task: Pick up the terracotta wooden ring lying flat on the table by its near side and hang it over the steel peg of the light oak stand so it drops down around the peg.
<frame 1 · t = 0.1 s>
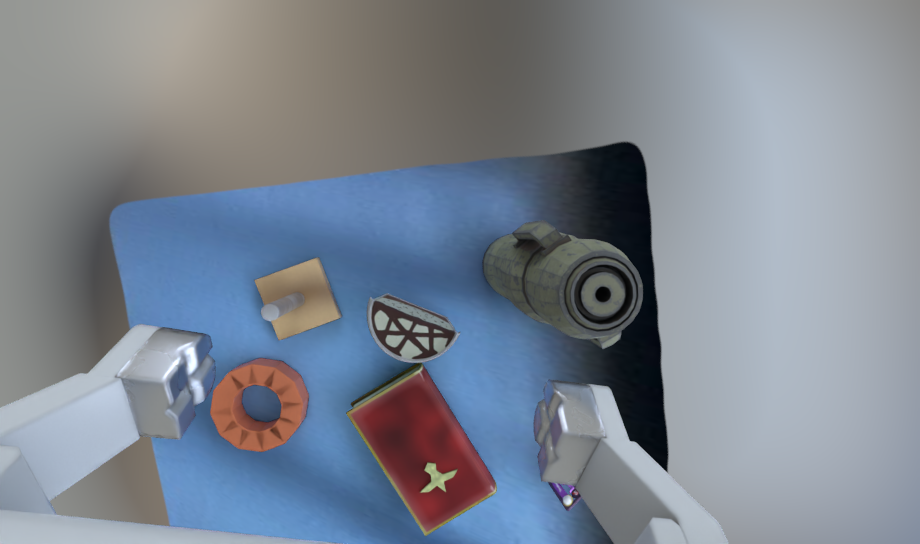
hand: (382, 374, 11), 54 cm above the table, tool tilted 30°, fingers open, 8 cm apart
grey-green tall cylinder: (511, 264, 66), on the table
stand: (300, 297, 64), on the table
ring: (265, 400, 65), on the table
purple rectangular box: (574, 464, 69), on the table
hardcover book: (423, 440, 67), on the table
food container: (409, 324, 66), on the table
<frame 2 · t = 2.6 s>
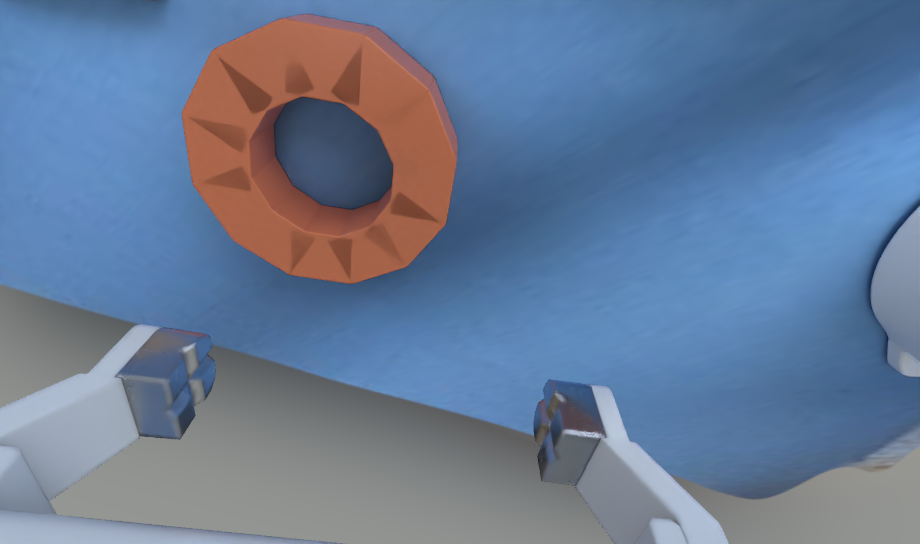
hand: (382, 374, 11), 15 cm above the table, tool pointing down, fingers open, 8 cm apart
ring: (338, 150, 23), on the table
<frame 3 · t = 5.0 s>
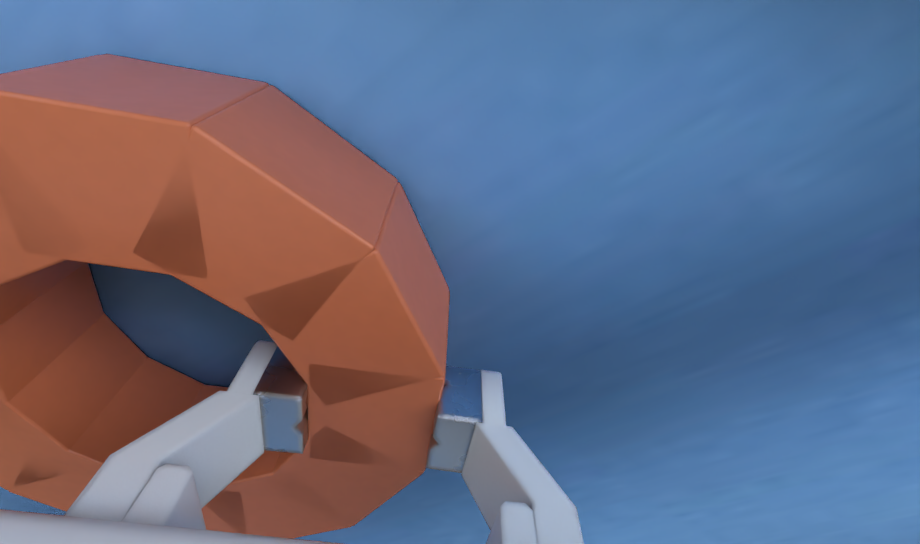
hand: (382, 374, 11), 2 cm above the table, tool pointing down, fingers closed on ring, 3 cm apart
ring: (221, 304, 12), on the table, touching gripper
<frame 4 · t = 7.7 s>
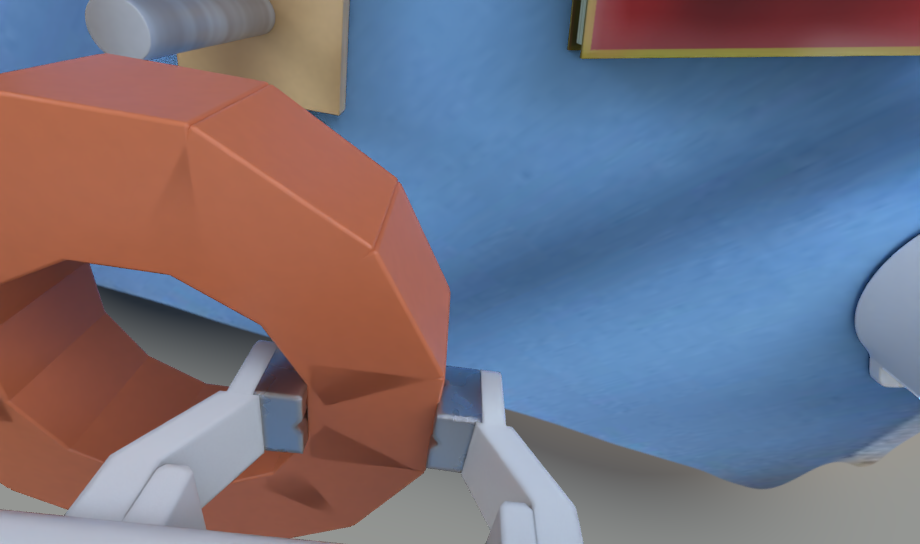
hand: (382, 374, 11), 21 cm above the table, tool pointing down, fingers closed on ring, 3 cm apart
stand: (267, 11, 25), on the table
ring: (222, 304, 12), point 19 cm above the table, touching gripper
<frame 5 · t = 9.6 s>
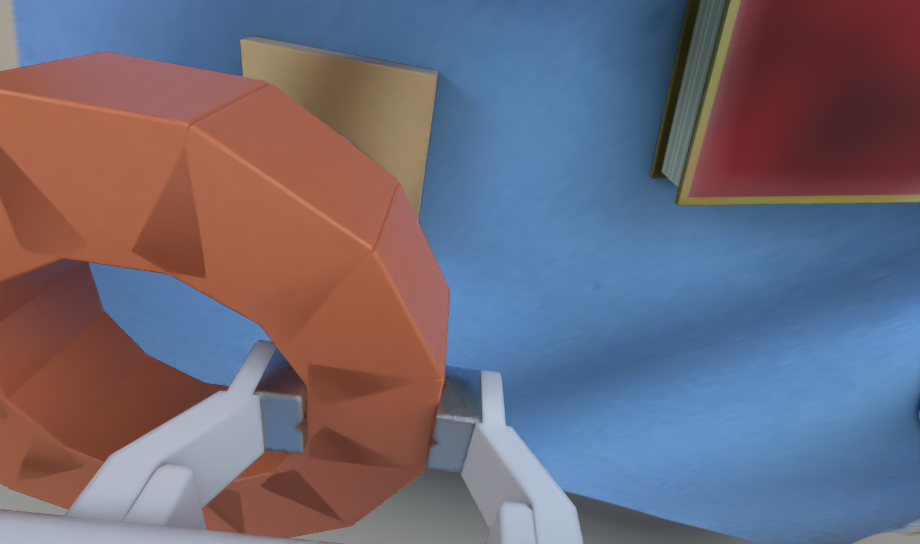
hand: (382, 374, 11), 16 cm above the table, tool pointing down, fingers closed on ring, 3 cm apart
stand: (344, 144, 24), on the table
ring: (221, 303, 12), point 14 cm above the table, touching gripper
hardcover book: (893, 52, 22), on the table
when the fingers open (13 cm above the table, at t = 10.9 s): ring drops 9 cm, resting on stand.
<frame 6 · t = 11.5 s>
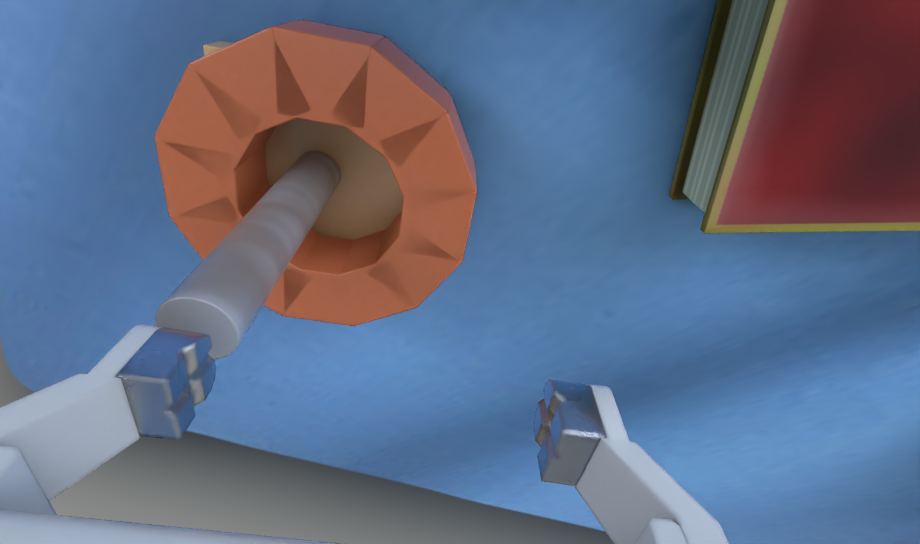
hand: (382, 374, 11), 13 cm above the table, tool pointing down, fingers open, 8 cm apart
stand: (326, 161, 22), on the table
ring: (338, 175, 21), point 1 cm above the table, touching stand
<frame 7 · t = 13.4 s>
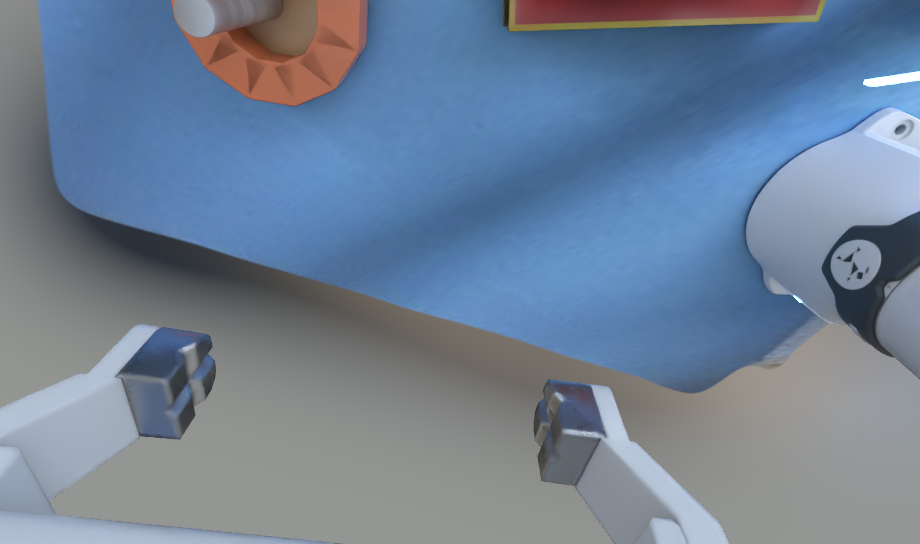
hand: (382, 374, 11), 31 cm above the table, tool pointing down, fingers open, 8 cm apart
stand: (275, 1, 33), on the table
ring: (281, 4, 32), point 1 cm above the table, touching stand
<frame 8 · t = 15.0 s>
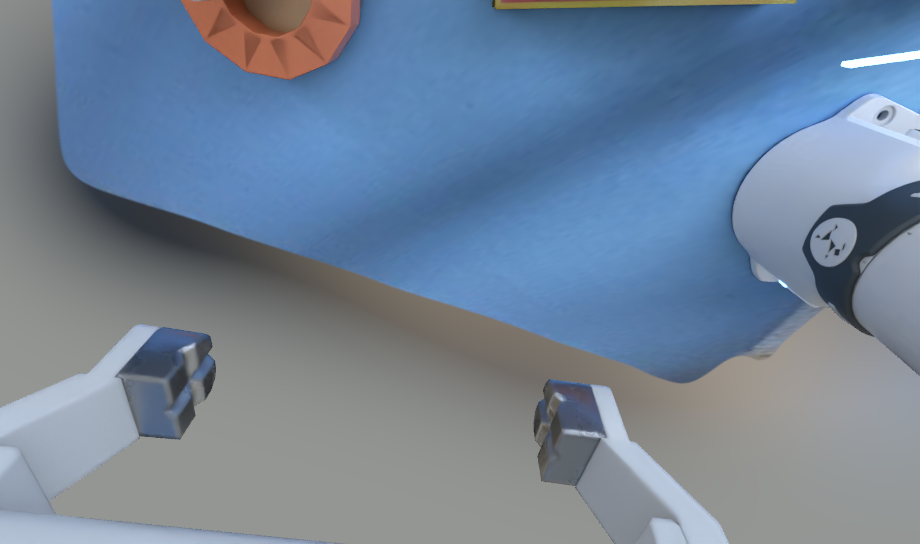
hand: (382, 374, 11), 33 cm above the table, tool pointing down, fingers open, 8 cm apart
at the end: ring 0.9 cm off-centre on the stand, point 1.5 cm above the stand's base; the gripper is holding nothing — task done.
